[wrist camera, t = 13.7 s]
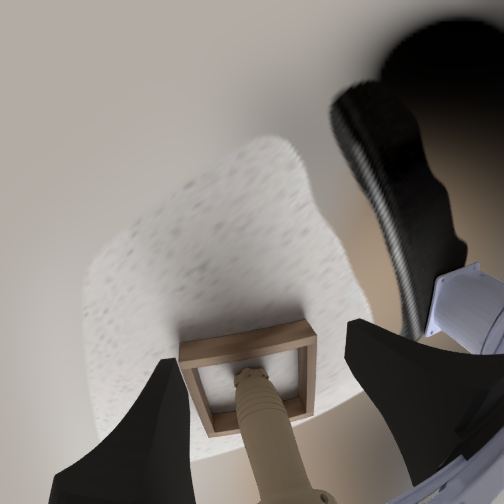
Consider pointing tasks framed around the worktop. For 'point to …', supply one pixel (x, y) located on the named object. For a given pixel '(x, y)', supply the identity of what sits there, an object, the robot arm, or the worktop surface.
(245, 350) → the collar
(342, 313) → the worktop surface
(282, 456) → the handle
